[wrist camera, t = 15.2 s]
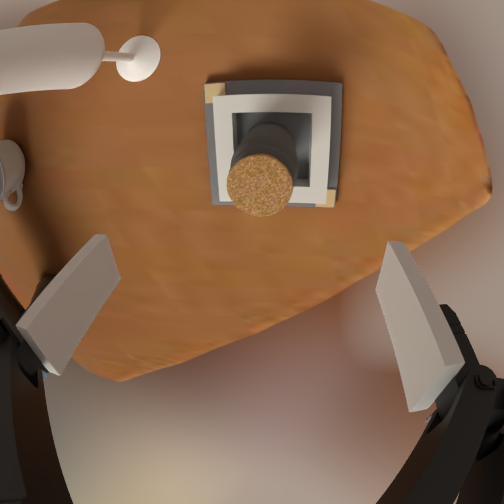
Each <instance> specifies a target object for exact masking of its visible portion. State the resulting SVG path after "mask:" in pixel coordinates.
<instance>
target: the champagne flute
mask: <svg viewBox="0 0 504 504" xmlns="http://www.w3.org/2000/svg"><path fill="white" fill-rule="evenodd" d="M102 61H116V67H117V70H118V72H119V74H120V75H121V76H122V77H123V78H124V79H125V80H128V81H132V82H137V81H141V80H144V79H146V78H147V77H149V76H150V75H151V74H152V73H153V72H154V71H155V69H156V68H157V66H158V64H159V61H160V48H159V45H158V43H157V42H156V41H155V40H154V39H153V38H151V37H149V36H143V35H142V36H136V37H133V38H131V39H129V40H128V41H127V42H126V43H125V44H124V45H123V46H122V47H121V49H120V50H119V52H111V51H105V44H104V39H103V37H102V35H101V33H100V31H99V30H98V29H97V28H96V27H95V26H93V25H91V24H88V23H58V24H43V25H32V26H24V27H16V28H10V29H4V30H0V95H3V94H11V93H19V92H28V91H40V90H56V89H73V88H76V87H79V86H81V85H82V84H84V83H86V82H87V81H88V80H89V79H90V78H91V77H92V76H93V75H94V74H95V73H96V71H97V70H98V68H99V67H100V65H101V62H102Z"/></svg>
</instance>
